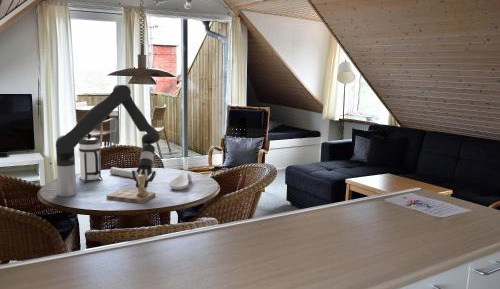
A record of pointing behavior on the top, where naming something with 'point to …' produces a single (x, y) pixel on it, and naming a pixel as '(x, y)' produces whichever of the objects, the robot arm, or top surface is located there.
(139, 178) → the tan wooden column
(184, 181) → the spoon rest
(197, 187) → the top surface
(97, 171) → the coffee press
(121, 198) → the board
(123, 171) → the tube
